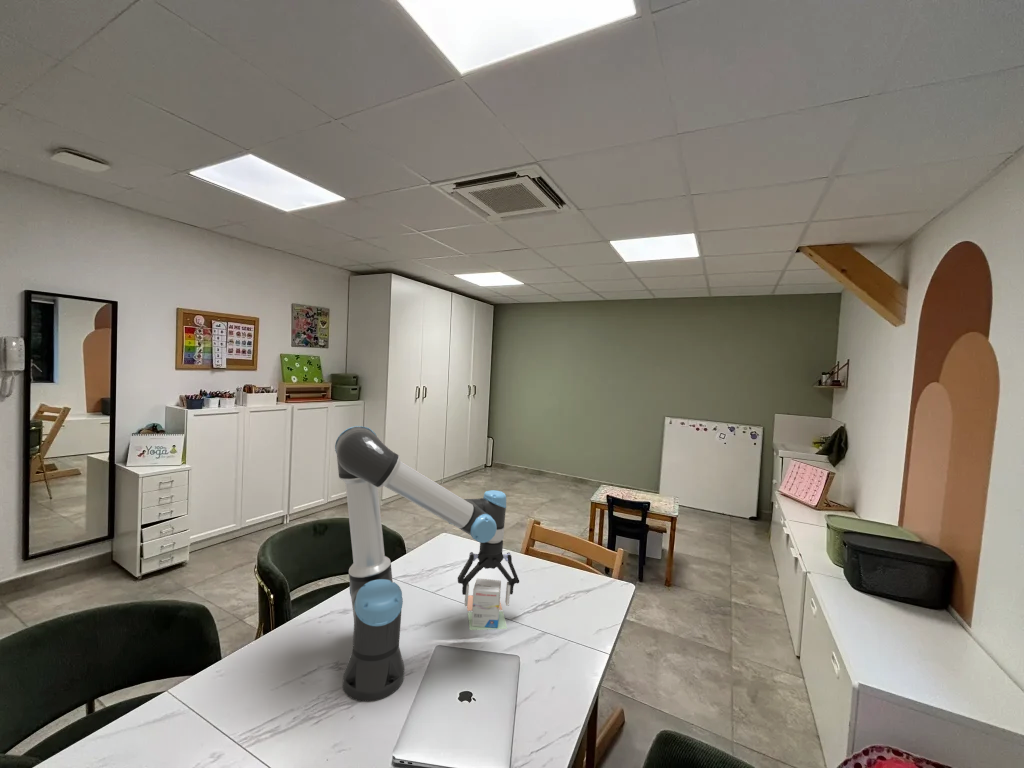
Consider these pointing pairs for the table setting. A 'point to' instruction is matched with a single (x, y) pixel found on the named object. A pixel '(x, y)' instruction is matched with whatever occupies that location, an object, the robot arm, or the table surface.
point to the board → (500, 626)
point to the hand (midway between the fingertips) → (486, 603)
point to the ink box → (486, 603)
